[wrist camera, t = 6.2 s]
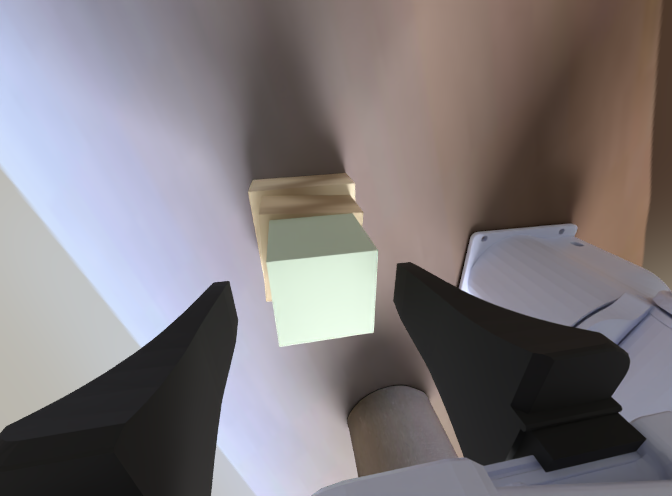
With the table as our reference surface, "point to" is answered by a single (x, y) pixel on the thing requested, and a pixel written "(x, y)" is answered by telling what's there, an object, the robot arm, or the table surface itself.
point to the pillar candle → (396, 431)
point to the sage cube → (321, 278)
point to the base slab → (296, 191)
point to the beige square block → (300, 215)
